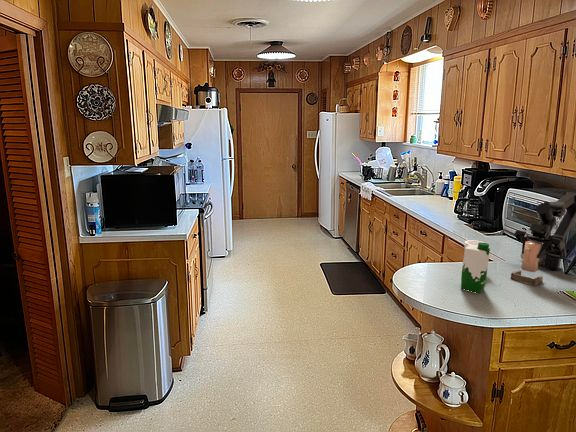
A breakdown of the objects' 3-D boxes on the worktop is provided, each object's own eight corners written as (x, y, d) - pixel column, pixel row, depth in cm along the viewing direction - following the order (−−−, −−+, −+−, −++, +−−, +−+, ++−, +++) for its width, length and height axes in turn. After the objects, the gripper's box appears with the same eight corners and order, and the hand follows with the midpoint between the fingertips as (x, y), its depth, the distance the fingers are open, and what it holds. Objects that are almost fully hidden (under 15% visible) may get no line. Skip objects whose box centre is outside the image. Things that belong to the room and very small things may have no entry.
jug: (525, 266, 193) (529, 240, 190) (539, 270, 188) (543, 243, 186) (516, 270, 188) (520, 243, 185) (530, 274, 183) (534, 247, 181)
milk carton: (480, 295, 172) (486, 247, 168) (457, 289, 178) (463, 243, 173) (486, 289, 179) (493, 242, 174) (464, 283, 185) (469, 238, 180)
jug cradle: (518, 274, 195) (519, 269, 195) (542, 281, 188) (542, 276, 187) (510, 278, 191) (511, 273, 190) (534, 285, 183) (535, 280, 183)
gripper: (519, 212, 193) (503, 240, 189) (565, 220, 179) (549, 251, 175) (524, 226, 199) (510, 253, 196) (569, 236, 185) (554, 265, 181)
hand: (529, 255), depth 187 cm, fingers closed on jug, 6 cm apart
